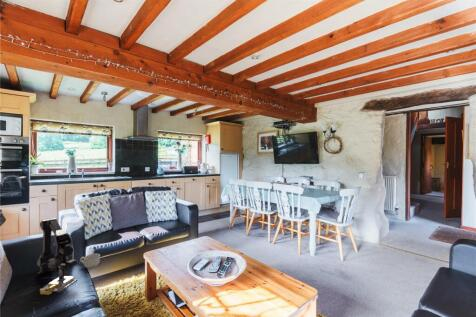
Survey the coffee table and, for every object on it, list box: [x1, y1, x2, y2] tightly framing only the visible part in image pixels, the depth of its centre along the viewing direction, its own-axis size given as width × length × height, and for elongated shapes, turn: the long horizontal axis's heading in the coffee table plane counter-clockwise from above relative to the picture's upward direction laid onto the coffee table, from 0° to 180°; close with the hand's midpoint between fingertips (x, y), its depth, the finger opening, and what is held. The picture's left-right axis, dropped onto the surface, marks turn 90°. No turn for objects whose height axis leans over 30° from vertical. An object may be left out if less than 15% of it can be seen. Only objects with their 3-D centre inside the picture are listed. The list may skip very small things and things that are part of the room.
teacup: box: [79, 253, 101, 269], centre depth 181 cm, size 14×11×8 cm
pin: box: [58, 264, 65, 279], centre depth 157 cm, size 4×4×9 cm
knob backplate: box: [39, 275, 77, 296], centre depth 153 cm, size 14×17×2 cm
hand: (61, 275), depth 157 cm, fingers closed on pin, 3 cm apart
